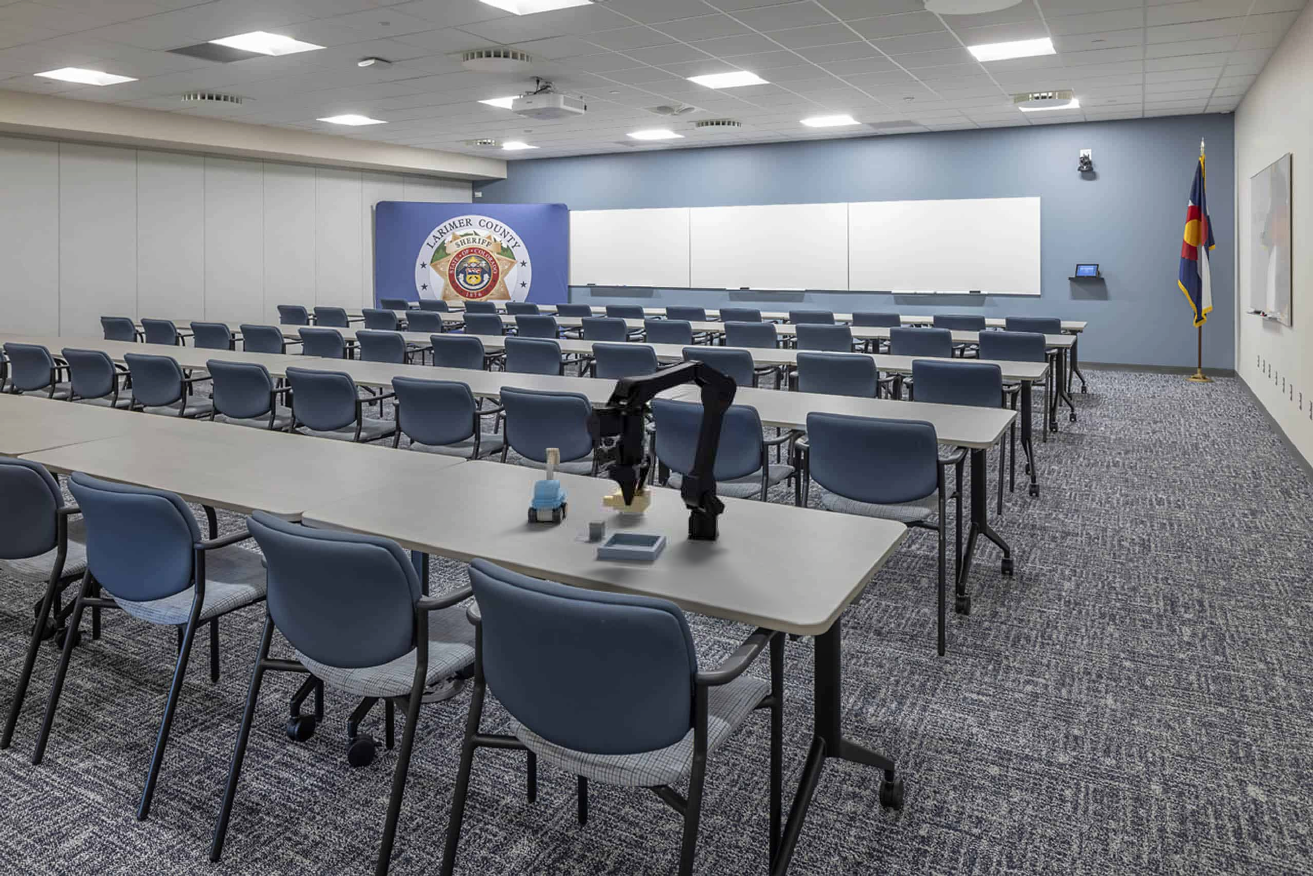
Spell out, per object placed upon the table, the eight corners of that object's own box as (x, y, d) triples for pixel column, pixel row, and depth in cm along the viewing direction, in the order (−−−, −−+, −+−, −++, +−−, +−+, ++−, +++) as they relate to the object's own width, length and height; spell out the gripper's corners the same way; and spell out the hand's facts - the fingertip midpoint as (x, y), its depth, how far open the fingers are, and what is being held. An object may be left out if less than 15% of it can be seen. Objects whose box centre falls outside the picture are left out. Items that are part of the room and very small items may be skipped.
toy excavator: (572, 509, 250) (571, 446, 247) (560, 526, 234) (559, 459, 231) (541, 508, 251) (540, 446, 248) (526, 525, 235) (525, 459, 231)
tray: (665, 545, 218) (666, 535, 218) (653, 562, 206) (653, 551, 205) (612, 541, 221) (612, 531, 221) (597, 558, 209) (597, 547, 208)
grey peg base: (620, 533, 228) (620, 517, 227) (610, 544, 219) (610, 527, 218) (584, 531, 230) (584, 515, 229) (573, 541, 221) (573, 525, 220)
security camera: (622, 517, 242) (622, 480, 240) (618, 510, 249) (618, 474, 247) (646, 516, 243) (646, 479, 241) (641, 509, 250) (641, 473, 248)
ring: (650, 503, 214) (650, 489, 213) (643, 511, 207) (643, 496, 207) (608, 501, 216) (608, 486, 216) (600, 509, 210) (600, 494, 209)
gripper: (608, 425, 219) (609, 490, 222) (585, 440, 201) (586, 510, 204) (654, 427, 217) (654, 492, 220) (635, 442, 199) (635, 513, 202)
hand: (632, 501), depth 211 cm, fingers closed on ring, 7 cm apart
